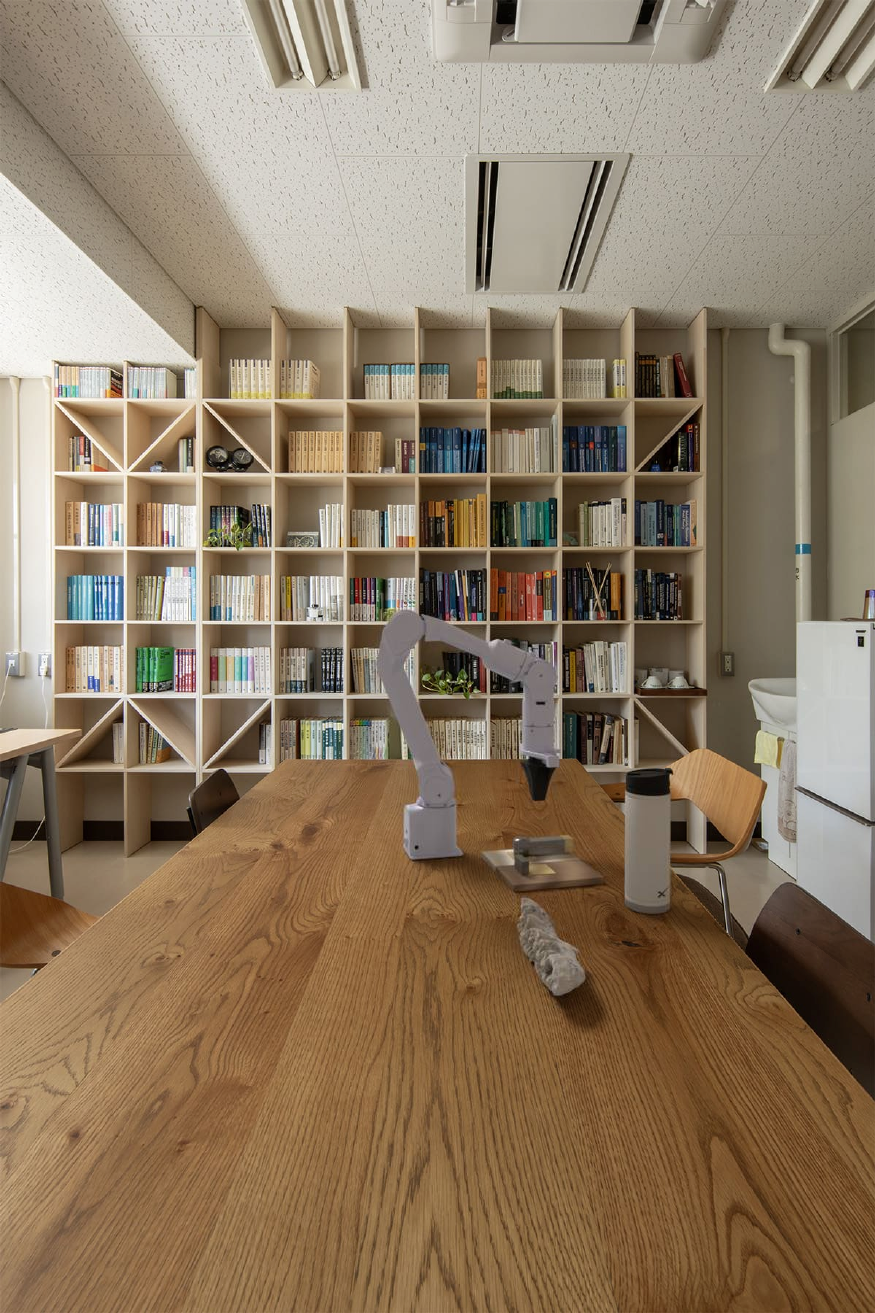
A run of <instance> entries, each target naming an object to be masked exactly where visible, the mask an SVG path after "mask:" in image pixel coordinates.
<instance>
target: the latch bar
mask: <svg viewBox="0 0 875 1313" xmlns="http://www.w3.org/2000/svg"><path fill="white" fill-rule="evenodd" d="M512 840H513V842H512V843H513V845H512V846H513V848H512V849H513V854H514V855H523V856H524V857H527V856H529V855H533V854H545V853H558V852H570V853H573V852H574V837H572V836H571V835H569V834H564V835H563V834H562V835H561V834H560V835H558V836H557V835H554V836H541V837H540V836H539V837H526V836H516V837H513V839H512Z"/></svg>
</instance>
